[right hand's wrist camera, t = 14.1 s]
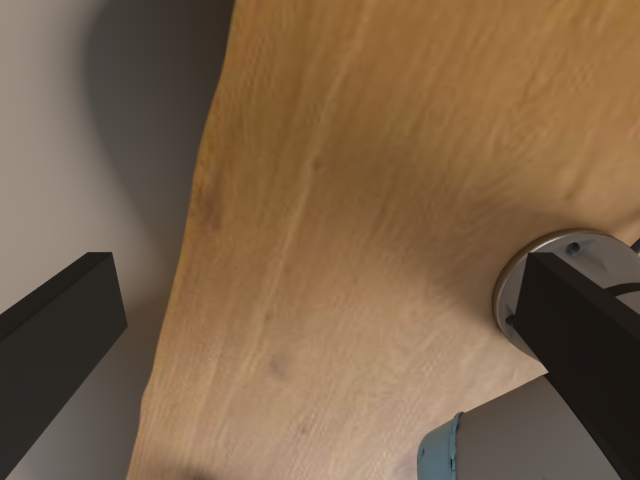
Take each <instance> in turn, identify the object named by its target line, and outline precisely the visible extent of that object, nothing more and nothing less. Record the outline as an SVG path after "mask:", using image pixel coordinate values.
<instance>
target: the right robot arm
mask: <svg viewBox="0 0 640 480" xmlns="http://www.w3.org/2000/svg"><path fill="white" fill-rule="evenodd" d="M639 252H640V238H639V239H638V240H637V241H636V242H635V243H634V244H633V245H632V246H631V247H629V246H628V245H626V244H625V243H623V242H622V241H620V240H618V239H616V238H614V237H612V236H610V235H608V234H606V233H603V232H601V231H597V230H593V229H585V228H573V229H565V230H560V231H556V232H553V233H550V234H547V235H545V236H543V237H540V238H538V239H536V240H535V241H533V242H531V243H530V244H528V245H527V246H525V247H524V248H523V249H521V250H520V251H519V252H518V253H517V254H516V255H515V256H514V257H513V258H512V259H511V260H510V261H509V262H508V263H507V265H506V266H505V268H504V269H503V271H502V272H501V274H500V276H499V278H498V280H497V282H496V285H495V288H494V292H493V301H492V306H493V313H494V317H495V320H496V322H497V324H498V326H499V328H500V329H501V331H502V332H503V333H504V335H505V336H506V337H507V339H508V340H509V341H510V342H511V343H512V344H513V345H514V346H516V347H517V348H518V349H519V350H521V351H522V352H524V353H525V354H527V355H529V356H530V357H532V358H534V359H535V360H537V361H539V362H541V363H542V364H543V365H544V367H545V368H546V369H547V370H548V373H546V374H544V375H541V376H539V377H537V378H536V379H534V380H532V381H530V382H528V383H526V384H524V385H522V386H520V387H518V388H516V389H514V390H512V391H510V392H508V393H506V394H503V395H501V396H499V397H497V398H495V399H493V400H491V401H489V402H487V403H485V404H483V405H480V406H478V407H476V408H474V409H472V410H470V411H468V412H466V413H464V412H460V413H457V414H456V415H455V416H454V419H452V420H450V421H448V422H446V423H445V424H443V425H441V426H439V427H438V428H436V429H434V430H432V431H431V432H429V433H428V434H427V435H426V436H425V437H424V438H423V439H422V441H421V443H420V446H419V449H418V454H417V477H418V480H640V257H639V256H638V255H637V254H638V253H639ZM127 327H128V325H127V321H126V316H125V311H124V307H123V302H122V297H121V292H120V288H119V283H118V278H117V273H116V269H115V264H114V259H113V255H112V252H87V253H86V254H85V255H83V256H82V257H80V258H79V259H78V260H76V261H75V262H73V263H72V264H71V265H69V266H68V267H66V268H65V269H64V270H62V271H61V272H59V273H58V274H57V275H55V276H54V277H52V278H51V279H50V280H48V281H47V282H45V283H44V284H43V285H41V286H40V287H38V288H37V289H36V290H34V291H33V292H31V293H30V294H28V295H27V296H26V297H24V298H23V299H21V300H20V301H19V302H17V303H16V304H15V305H13V306H12V307H10V308H9V309H7V310H6V311H5V312H3V313H2V314H0V480H5V479H6V478H7V476H8V475H9V474H10V473H11V471H12V470H13V469H14V468H15V466H16V465H17V464H18V463H19V461H20V460H21V459H22V458H23V457H24V455H25V454H26V453H27V452H28V450H29V449H30V448H31V447H32V445H33V444H34V443H35V442H36V440H37V439H38V438H39V437H40V435H41V434H42V433H43V431H44V430H45V429H46V428H47V427H48V425H49V424H50V423H51V422H52V420H53V419H54V418H55V417H56V415H57V414H58V413H59V412H60V410H61V409H62V408H63V407H64V405H65V404H66V403H67V402H68V400H69V399H70V398H71V397H72V395H73V394H74V393H75V392H76V390H77V389H78V388H79V387H80V385H81V384H82V383H83V382H84V380H85V379H86V378H87V377H88V375H89V374H90V373H91V372H92V370H93V369H94V368H95V367H96V365H97V364H98V363H99V362H100V360H101V359H102V358H103V357H104V355H105V354H106V353H107V352H108V351H109V349H110V348H111V347H112V346H113V344H114V343H115V342H116V341H117V339H118V338H119V337H120V336H121V334H122V333H123V332H124V330H125V329H126V328H127Z"/></svg>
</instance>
